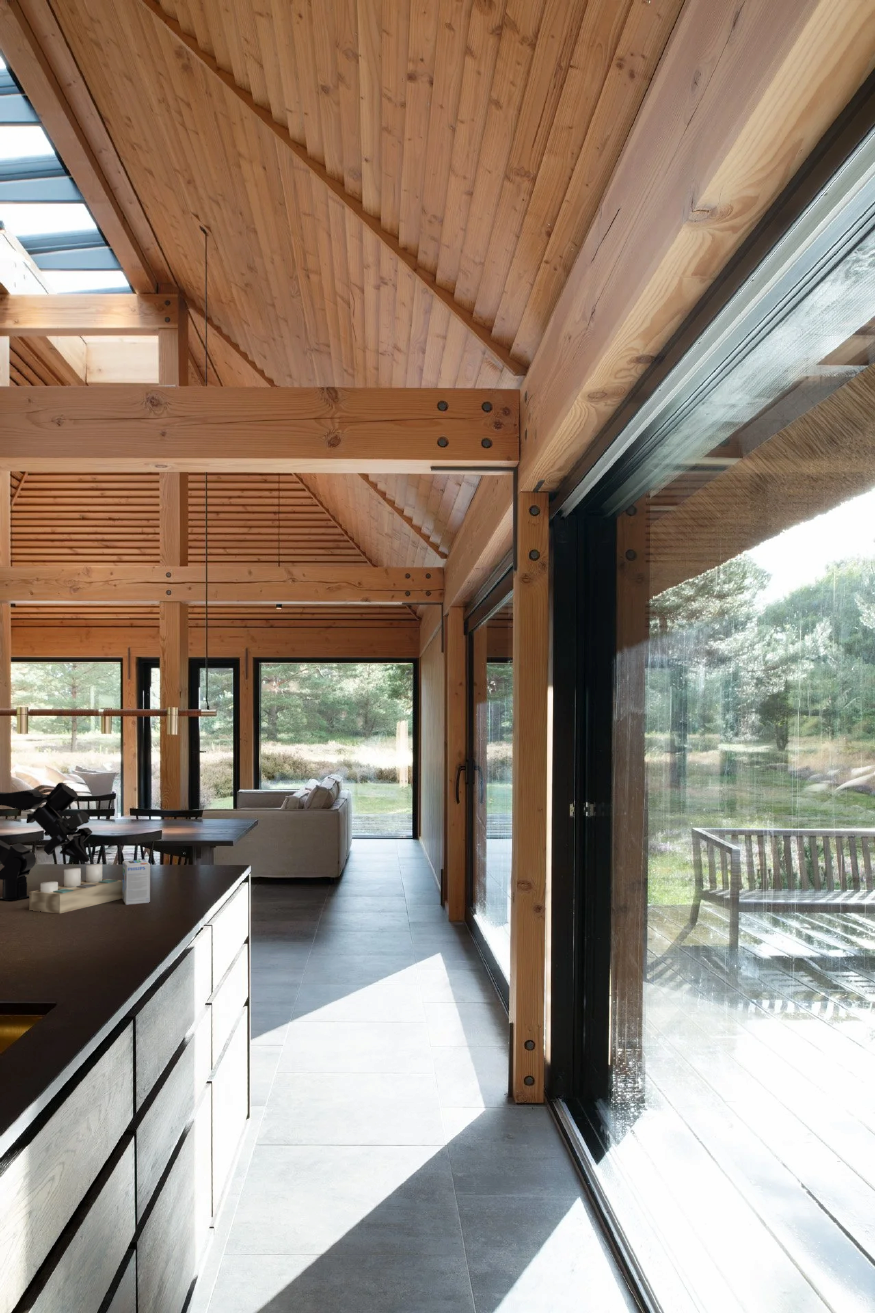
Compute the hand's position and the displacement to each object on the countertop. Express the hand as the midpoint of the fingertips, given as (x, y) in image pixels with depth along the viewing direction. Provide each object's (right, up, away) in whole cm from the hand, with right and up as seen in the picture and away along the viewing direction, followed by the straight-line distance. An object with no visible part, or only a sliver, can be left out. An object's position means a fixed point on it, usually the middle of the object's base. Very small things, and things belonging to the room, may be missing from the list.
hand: (88, 861), depth 268 cm
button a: (-5, -10, -15) cm, 19 cm away
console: (+1, -10, -9) cm, 14 cm away
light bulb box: (+16, -10, -5) cm, 20 cm away
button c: (+2, -8, -1) cm, 8 cm away
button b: (-1, -8, -8) cm, 11 cm away
